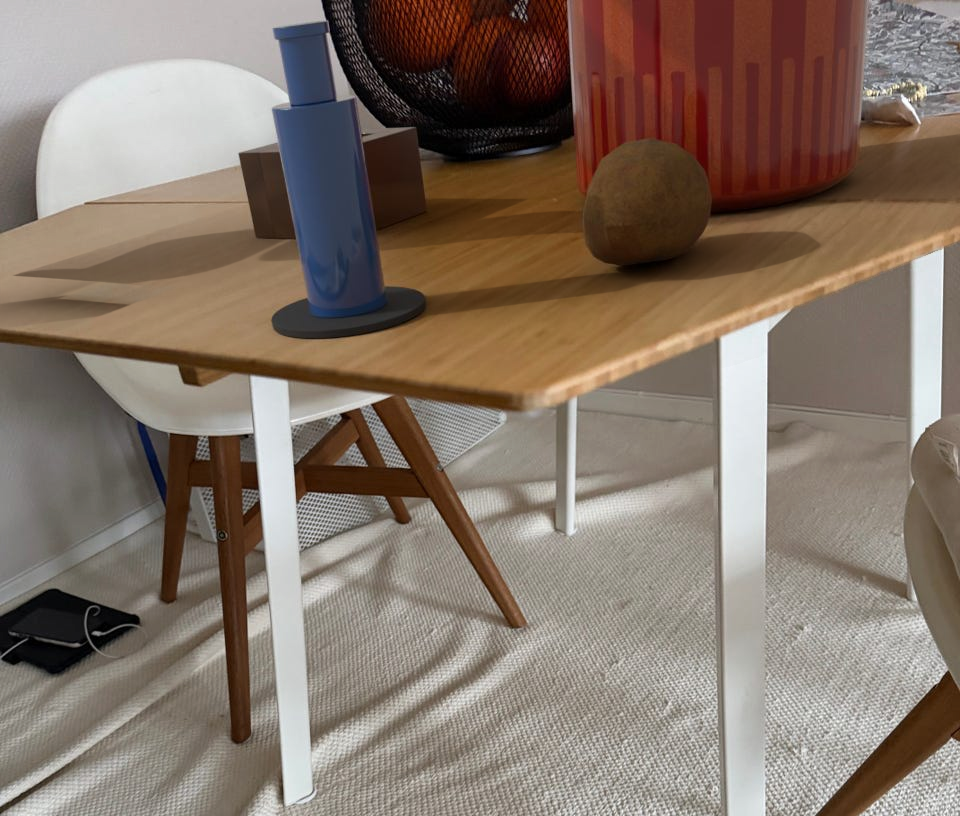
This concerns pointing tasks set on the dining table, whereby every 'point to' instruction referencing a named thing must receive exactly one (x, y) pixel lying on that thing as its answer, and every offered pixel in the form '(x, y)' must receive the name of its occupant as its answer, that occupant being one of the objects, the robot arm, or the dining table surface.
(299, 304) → the coaster
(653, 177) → the potato
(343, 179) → the bottle
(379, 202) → the holder
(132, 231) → the dining table surface
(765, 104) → the planter
